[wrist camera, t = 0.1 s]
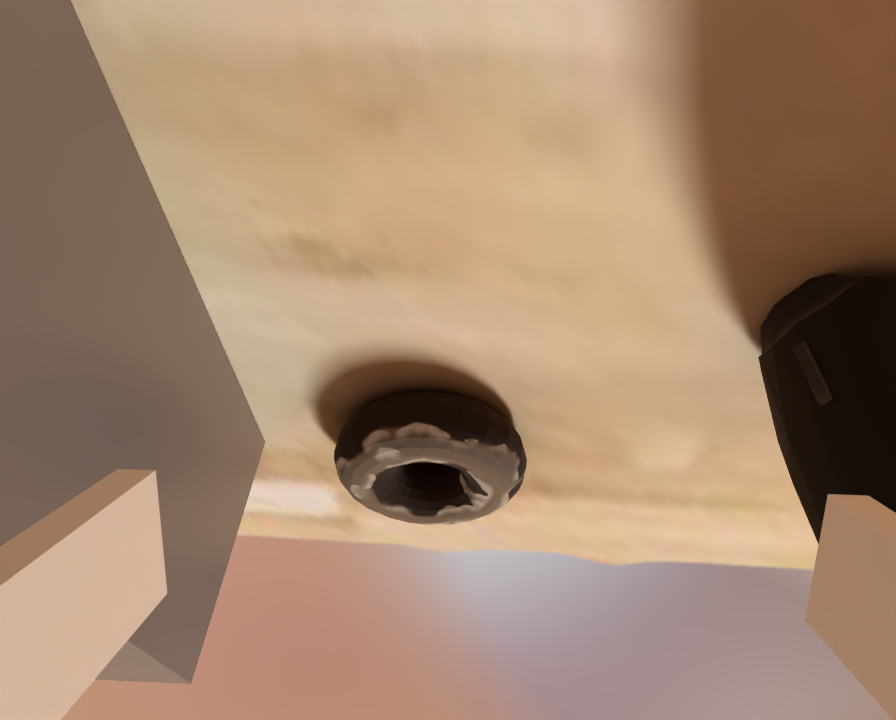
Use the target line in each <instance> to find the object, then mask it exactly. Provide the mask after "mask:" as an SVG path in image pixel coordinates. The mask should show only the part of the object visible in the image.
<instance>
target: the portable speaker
mask: <svg viewBox="0 0 896 720" xmlns="http://www.w3.org/2000/svg"><path fill="white" fill-rule="evenodd" d="M761 340H762V355H761V356H759V362H760V367H761V372H762V376H763V381H764V385H765V389H766V393H767V397H768V402H769V406H770V410H771V414H772V418H773V422H774V427H775V431H776V435H777V439H778V443H779V445H780V448H781V451H782V454H783V457H784V460H785V462H786V465H787V468H788V471H789V474H790V477H791V479H792V482H793V485H794V487H795V489H796V492H797V494H798V496H799V499H800V501H801V504H802V506H803V508H804V511H805V513H806V515H807V518H808V520H809V523H810V525H811V527H812V530H813V532H814V534H815V537H816V539H817V542H818V544H819V540H820V535H821V529H822V524H823V518H824V513H825V507H826V502H827V496H828V494H837V495H865V496H870V497H871V498H873V499H875V500H876V501H878V502H879V503H881V504H882V505H884V506H886V507H887V508H889V509H890V510H892V511H893V512H895V513H896V276H880V277H874V278H862V279H850V278H846V277H842V276H838V275H834V274H831V275H827V276H823V277H819V278H815V279H811V280H808V281H807V282H806V283H804V284H803V285H802V286H800V287H799V288H798V289H796V290H795V291H794V292H792V293H791V294H790V295H789V296H787V297H786V298H785V299H783V300H782V301H781V302H779V303H778V304H777V305H775V306H774V308H773V309H772V311H771V313H770V314H769V316H768V317H767V319H766V320H765V322H764V324H763V325H762V327H761Z"/></svg>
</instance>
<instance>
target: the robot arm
mask: <svg viewBox="0 0 896 720" xmlns="http://www.w3.org/2000/svg"><path fill="white" fill-rule="evenodd" d="M166 594H167V584H166V574H165V563H164V553H163V542H162V532H161V522H160V511H159V501H158V490H157V480H156V470H134V469H117V470H115V471H114V472H112V473H111V474H109V475H108V476H106V477H105V478H103V479H102V480H100V481H99V482H97V483H96V484H94V485H93V486H91V487H90V488H88V489H87V490H85V491H83V492H82V493H80V494H79V495H77V496H76V497H74V498H73V499H71V500H70V501H68V502H67V503H65V504H64V505H62V506H61V507H59V508H58V509H56V510H55V511H53V512H52V513H50V514H49V515H47V516H46V517H44V518H43V519H41V520H39V521H38V522H36V523H35V524H33V525H32V526H30V527H29V528H27V529H26V530H24V531H23V532H21V533H20V534H18V535H17V536H15V537H14V538H12V539H11V540H9V541H8V542H6V543H5V544H3V545H2V546H0V720H61V719H62V717H63V716H64V715H65V714H66V713H67V711H68V710H69V709H70V708H71V707H72V705H73V704H74V703H75V702H76V701H77V700H78V698H79V697H80V696H81V695H82V694H83V692H84V691H85V690H86V689H87V687H89V685H90V684H91V683H92V682H93V681H94V680H95V678H96V677H97V676H98V675H99V674H100V672H101V671H102V670H103V669H104V668H105V666H106V665H107V664H108V663H109V662H110V661H111V659H112V658H113V657H114V656H115V655H116V653H117V652H118V651H119V650H120V649H121V648H122V646H123V645H124V644H125V643H126V642H127V640H128V639H129V638H130V637H131V636H132V635H133V633H134V632H135V631H136V630H137V629H138V627H139V626H140V625H141V624H142V623H143V622H144V620H145V619H146V618H147V617H148V616H149V614H150V613H151V612H152V611H153V610H154V609H155V607H156V606H157V605H158V604H159V603H160V601H161V600H162V599H163V598H164V597H165V596H166ZM805 621H806V622H807V623H808V624H809V625H810V626H811V627H812V628H813V630H814V631H815V632H816V633H817V634H818V635H819V636H820V637H821V639H823V641H824V642H825V643H826V644H827V645H828V647H829V648H830V649H831V650H832V651H833V652H834V653H835V654H836V655H837V657H838V658H839V659H840V660H841V661H842V662H843V663H844V665H845V666H846V667H847V668H848V669H849V670H850V671H851V672H852V674H853V675H854V676H855V677H856V678H857V679H858V680H859V681H860V683H861V684H862V685H863V686H864V687H865V688H866V689H867V691H868V692H869V693H870V694H871V695H872V696H873V697H874V698H875V699H876V701H877V702H878V703H879V704H880V705H881V706H882V707H883V709H884V710H885V711H886V712H887V713H888V714H889V715H890V716H891V718H892V719H893V720H896V513H895V512H893V511H892V510H890V509H889V508H887V507H886V506H884V505H882V504H881V503H879V502H878V501H876V500H875V499H873V498H871V497H870V496H865V495H837V494H828V496H827V502H826V507H825V513H824V518H823V524H822V529H821V535H820V540H819V546H818V551H817V557H816V562H815V568H814V573H813V579H812V584H811V590H810V595H809V601H808V606H807V612H806V617H805Z"/></svg>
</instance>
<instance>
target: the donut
mask: <svg viewBox="0 0 896 720" xmlns="http://www.w3.org/2000/svg"><path fill="white" fill-rule="evenodd" d="M334 460H335V465H336V469H337V473H338V476H339V479H340V482H341V483H342V484H343V485H344V487H345V488H346V489H347V490H348V492H349V493H350V494H351V495H352V497H353V498H354V499H355V500H357V501H358V502H360V503H361V504H363V505H364V506H365V507H367V508H368V509H371V510H373V511H375V512H378V513H380V514H382V515H385V516H387V517H389V518H393V519H397V520H401V521H405V522H409V523H418V524H427V525H440V524H454V523H461V522H467V521H471V520H474V519H477V518H480V517H483V516H486V515H489V514H491V513H493V512H494V511H496V510H498V509H499V508H501V507H503V506H504V505H505V504H506V503H507V502H508V501H509V500H510V499H511V498H512V497H513V496H514V495H515V493H516V492H517V491H518V490H519V488H520V486H521V484H522V482H523V478H524V474H525V470H526V462H527V459H526V455H525V451H524V448H523V444H522V441H521V437H520V436H519V434H518V433H517V431H516V430H515V429H514V428H513V426H512V425H511V424H510V423H509V422H508V421H507V420H506V418H505V417H504V416H502V415H501V414H499V413H497V412H496V411H494V410H493V409H491V408H489V407H488V406H486V405H484V404H483V403H481V402H479V401H476V400H473V399H470V398H467V397H464V396H461V395H458V394H451V393H444V392H437V391H419V392H405V393H401V394H397V395H393V396H389V397H384V398H382V399H380V400H378V401H376V402H374V403H372V404H370V405H368V406H366V407H364V408H362V409H360V410H359V411H358V412H357V413H356V414H355V415H354V416H353V417H352V418H351V419H350V421H349V422H348V423H347V424H346V425H345V426H344V427H343V428H342V430H341V433H340V435H339V438H338V442H337V445H336V448H335V452H334Z"/></svg>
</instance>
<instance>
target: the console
mask: <svg viewBox="0 0 896 720" xmlns="http://www.w3.org/2000/svg"><path fill="white" fill-rule="evenodd" d="M264 444H265V441H264V439H263V436H262V434H261V432H260V430H259V427H258V425H257V423H256V421H255V418H254V416H253V414H252V412H251V409H250V407H249V405H248V402H247V400H246V398H245V396H244V393H243V391H242V389H241V387H240V384H239V382H238V380H237V378H236V375H235V373H234V371H233V368H232V366H231V364H230V362H229V359H228V357H227V355H226V353H225V350H224V348H223V346H222V344H221V341H220V339H219V337H218V334H217V332H216V330H215V328H214V325H213V323H212V321H211V319H210V316H209V314H208V312H207V310H206V307H205V305H204V303H203V300H202V298H201V296H200V294H199V291H198V289H197V287H196V285H195V282H194V280H193V278H192V276H191V273H190V271H189V269H188V266H187V264H186V262H185V260H184V257H183V255H182V253H181V251H180V248H179V246H178V244H177V241H176V239H175V237H174V235H173V232H172V230H171V228H170V226H169V223H168V221H167V219H166V217H165V214H164V212H163V210H162V207H161V205H160V203H159V201H158V198H157V196H156V194H155V192H154V189H153V187H152V185H151V183H150V180H149V178H148V176H147V173H146V171H145V169H144V167H143V164H142V162H141V160H140V158H139V155H138V153H137V151H136V149H135V146H134V144H133V142H132V139H131V137H130V135H129V133H128V130H127V128H126V126H125V124H124V121H123V119H122V117H121V115H120V112H119V110H118V108H117V105H116V103H115V101H114V99H113V96H112V94H111V92H110V90H109V87H108V85H107V83H106V81H105V78H104V76H103V74H102V71H101V69H100V67H99V65H98V62H97V60H96V58H95V56H94V53H93V51H92V49H91V47H90V44H89V42H88V40H87V37H86V35H85V33H84V31H83V28H82V26H81V24H80V22H79V19H78V17H77V15H76V13H75V10H74V8H73V6H72V3H71V1H70V0H0V546H2V545H3V544H5V543H6V542H8V541H9V540H11V539H12V538H14V537H15V536H17V535H18V534H20V533H21V532H23V531H24V530H26V529H27V528H29V527H30V526H32V525H33V524H35V523H36V522H38V521H39V520H41V519H43V518H44V517H46V516H47V515H49V514H50V513H52V512H53V511H55V510H56V509H58V508H59V507H61V506H62V505H64V504H65V503H67V502H68V501H70V500H71V499H73V498H74V497H76V496H77V495H79V494H80V493H82V492H83V491H85V490H87V489H88V488H90V487H91V486H93V485H94V484H96V483H97V482H99V481H100V480H102V479H103V478H105V477H106V476H108V475H109V474H111V473H112V472H114V471H115V470H117V469H134V470H156V480H157V490H158V501H159V511H160V522H161V532H162V542H163V553H164V563H165V574H166V584H167V594H166V596H165V597H164V598H163V599H162V600H161V601H160V603H159V604H158V605H157V606H156V607H155V609H154V610H153V611H152V612H151V613H150V614H149V616H148V617H147V618H146V619H145V620H144V622H143V623H142V624H141V625H140V626H139V627H138V629H137V630H136V631H135V632H134V633H133V635H132V636H131V637H130V638H129V639H128V640H127V642H126V643H125V644H124V645H123V646H122V648H121V649H120V650H119V651H118V652H117V653H116V655H115V656H114V657H113V658H112V659H111V661H110V662H109V663H108V664H107V665H106V666H105V668H104V669H103V670H102V671H101V672H100V674H99V675H98V676H97V677H96V678H95V680H117V681H140V682H164V683H185V684H191V682H192V678H193V675H194V672H195V669H196V665H197V662H198V659H199V656H200V652H201V649H202V646H203V643H204V639H205V636H206V633H207V629H208V626H209V623H210V620H211V617H212V613H213V610H214V607H215V603H216V600H217V597H218V594H219V590H220V587H221V584H222V581H223V577H224V574H225V571H226V567H227V564H228V561H229V558H230V555H231V551H232V548H233V545H234V542H235V538H236V535H237V532H238V529H239V525H240V522H241V519H242V516H243V512H244V509H245V506H246V502H247V499H248V496H249V493H250V489H251V486H252V483H253V480H254V476H255V473H256V470H257V467H258V463H259V460H260V457H261V454H262V450H263V447H264Z"/></svg>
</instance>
